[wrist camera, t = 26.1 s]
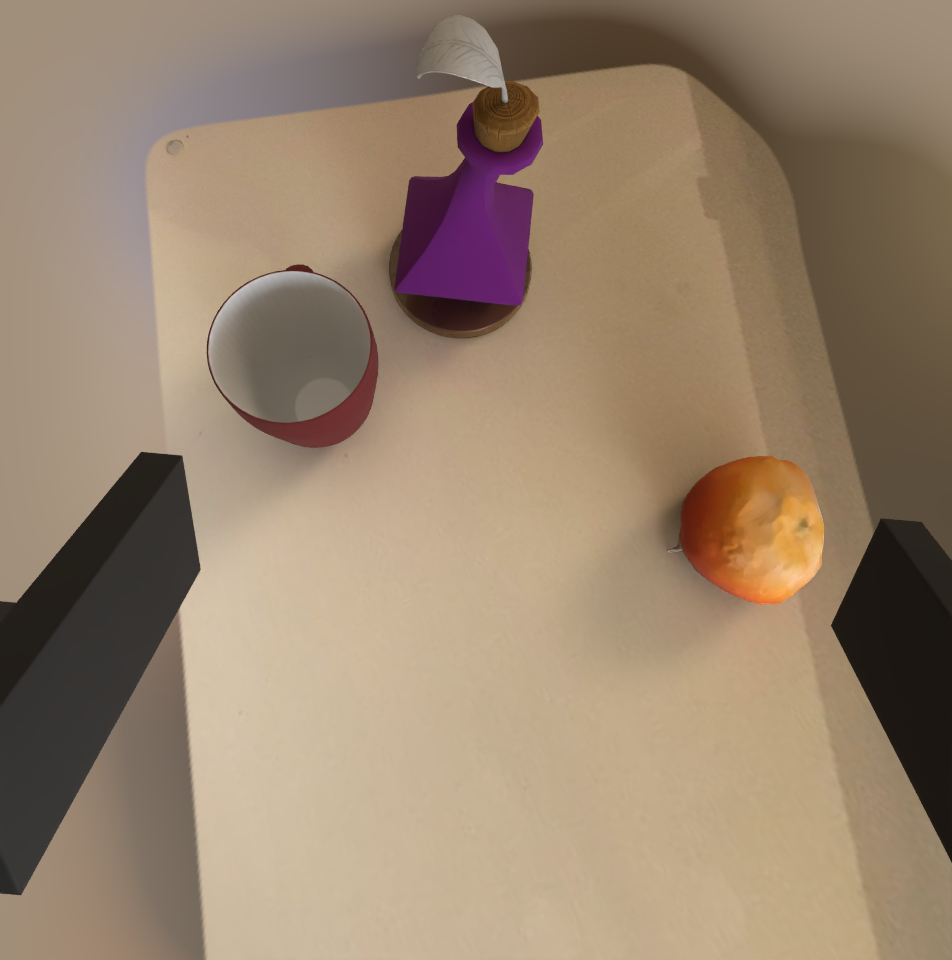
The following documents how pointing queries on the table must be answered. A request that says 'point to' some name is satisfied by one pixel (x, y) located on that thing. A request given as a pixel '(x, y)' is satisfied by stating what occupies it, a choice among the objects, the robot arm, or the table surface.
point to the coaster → (454, 308)
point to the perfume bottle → (473, 182)
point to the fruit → (753, 529)
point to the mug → (295, 357)
